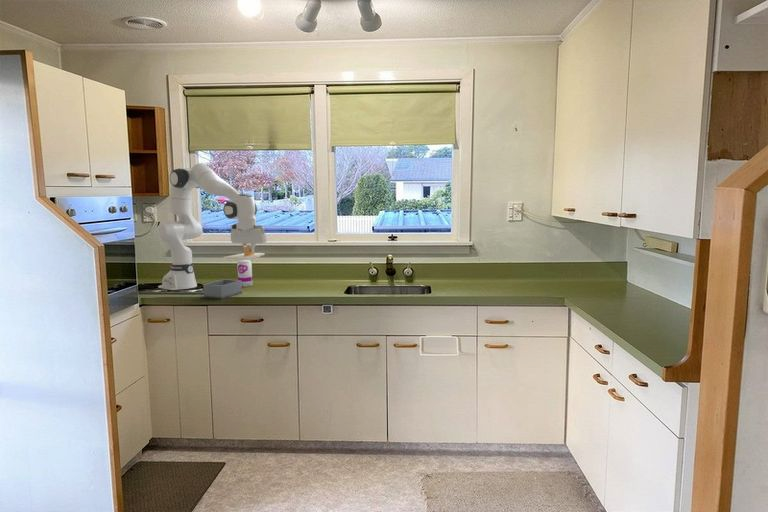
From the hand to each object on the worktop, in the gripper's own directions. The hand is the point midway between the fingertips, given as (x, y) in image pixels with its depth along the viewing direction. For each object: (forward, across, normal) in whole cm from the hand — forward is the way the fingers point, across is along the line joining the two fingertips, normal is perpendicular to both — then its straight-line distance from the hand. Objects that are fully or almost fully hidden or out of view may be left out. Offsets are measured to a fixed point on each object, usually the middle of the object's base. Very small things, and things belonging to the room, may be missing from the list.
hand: (249, 252), depth 258 cm
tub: (+24, +20, 0) cm, 31 cm away
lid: (+3, +4, 0) cm, 4 cm away
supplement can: (+24, +26, -26) cm, 44 cm away
